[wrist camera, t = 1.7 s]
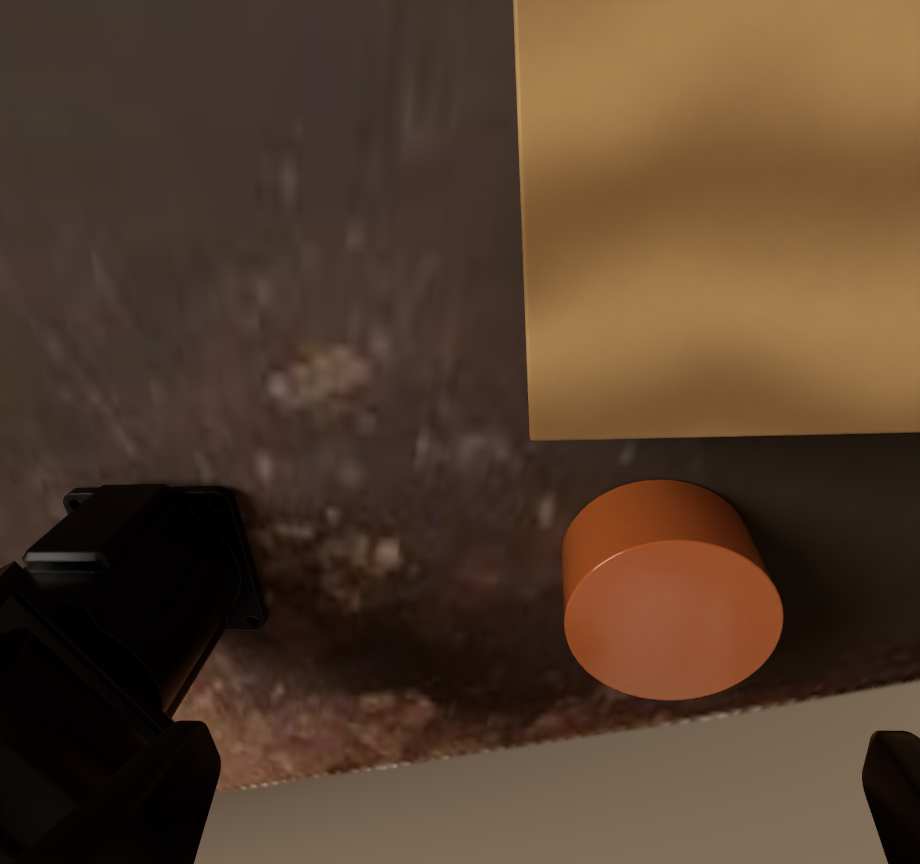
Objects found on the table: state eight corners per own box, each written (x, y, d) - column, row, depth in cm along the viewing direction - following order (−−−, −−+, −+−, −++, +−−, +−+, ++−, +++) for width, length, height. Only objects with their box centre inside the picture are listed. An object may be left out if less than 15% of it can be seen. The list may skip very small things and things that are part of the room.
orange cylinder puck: (739, 627, 23) (768, 705, 20) (562, 624, 24) (565, 698, 21) (761, 476, 20) (800, 541, 17) (559, 479, 21) (562, 540, 18)
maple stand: (1036, 356, 18) (1180, 428, 14) (532, 374, 20) (529, 442, 16) (1190, -97, 13) (1470, -184, 9) (518, -16, 15) (510, -60, 11)
